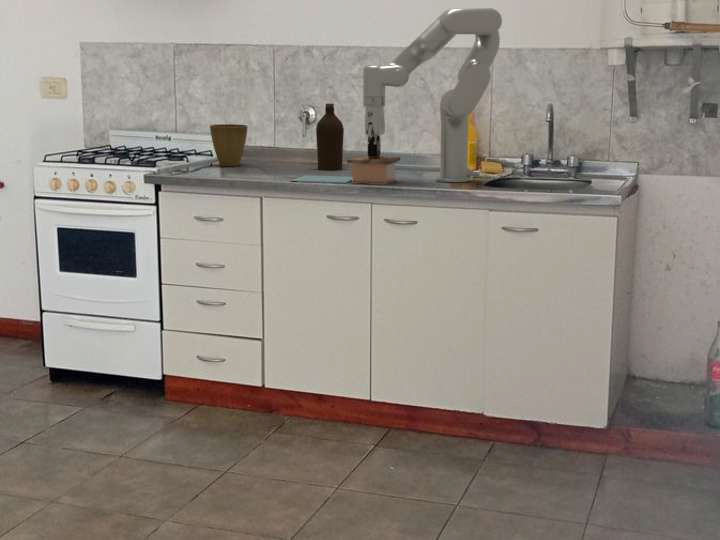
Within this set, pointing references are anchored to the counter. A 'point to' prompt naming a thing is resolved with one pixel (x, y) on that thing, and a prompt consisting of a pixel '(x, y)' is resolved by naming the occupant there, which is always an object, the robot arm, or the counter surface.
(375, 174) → the pot
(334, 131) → the olive oil
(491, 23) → the robot arm
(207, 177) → the counter surface
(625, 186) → the counter surface
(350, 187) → the counter surface
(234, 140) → the plant pot
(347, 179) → the mat
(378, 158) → the lid
